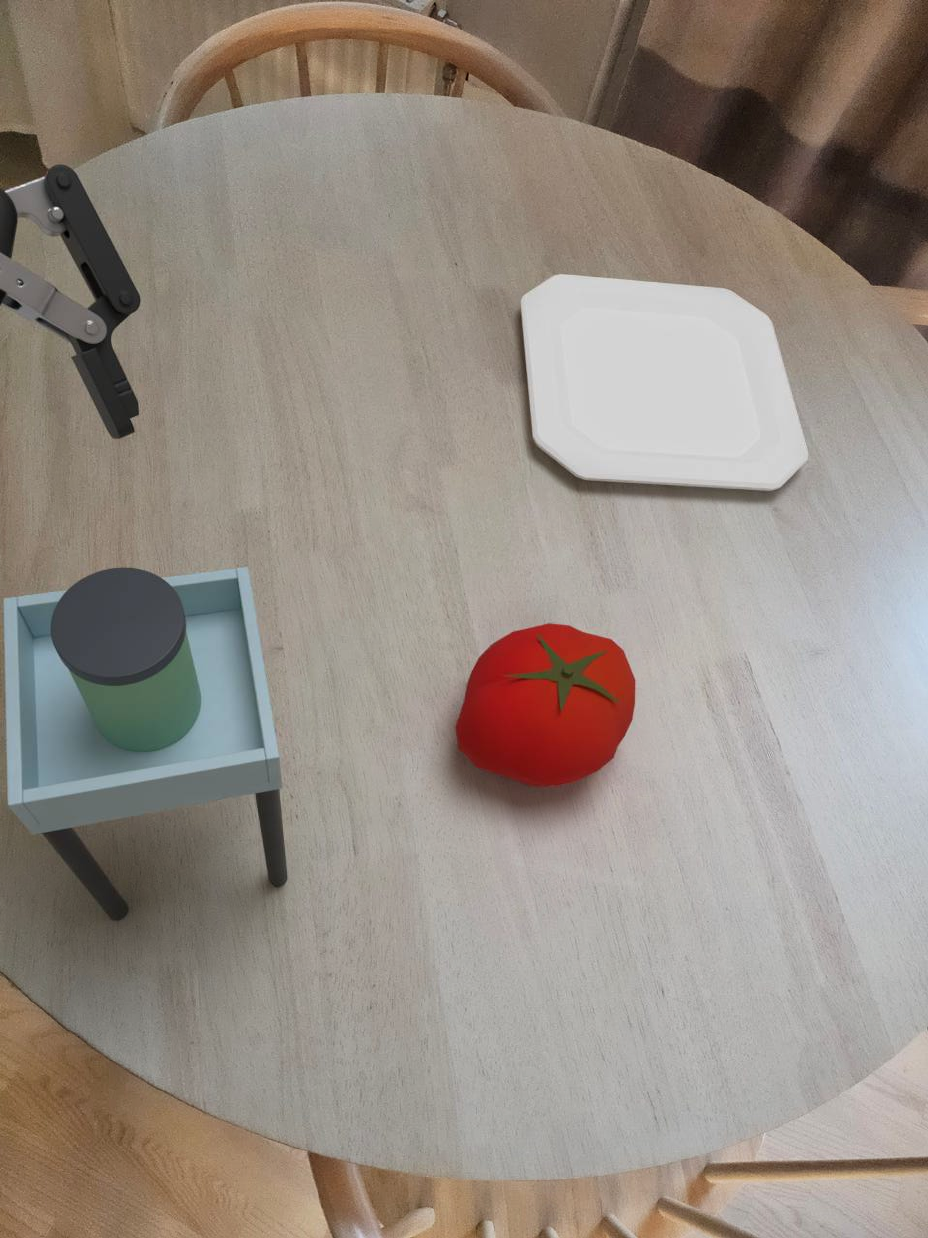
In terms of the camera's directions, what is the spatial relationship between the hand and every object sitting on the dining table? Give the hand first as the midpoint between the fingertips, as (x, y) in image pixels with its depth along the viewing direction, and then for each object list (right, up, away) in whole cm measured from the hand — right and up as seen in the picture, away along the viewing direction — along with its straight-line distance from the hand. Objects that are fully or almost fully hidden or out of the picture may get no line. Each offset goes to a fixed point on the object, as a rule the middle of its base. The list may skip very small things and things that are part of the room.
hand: (28, 474), depth 39 cm
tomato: (+23, -14, +29) cm, 40 cm away
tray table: (0, -20, +22) cm, 30 cm away
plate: (+36, +15, +48) cm, 62 cm away
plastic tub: (+3, -10, +6) cm, 12 cm away
